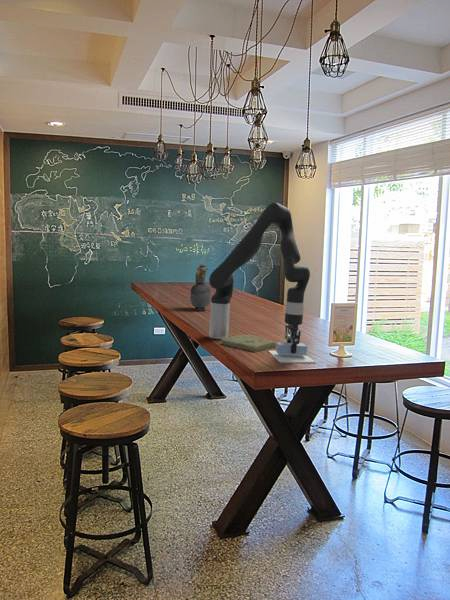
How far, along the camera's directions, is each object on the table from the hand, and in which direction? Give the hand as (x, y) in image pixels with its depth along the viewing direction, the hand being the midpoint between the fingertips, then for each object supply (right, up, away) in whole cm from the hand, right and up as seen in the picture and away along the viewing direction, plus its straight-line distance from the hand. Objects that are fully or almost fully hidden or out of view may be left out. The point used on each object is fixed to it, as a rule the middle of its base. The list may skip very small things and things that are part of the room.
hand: (291, 351), depth 226 cm
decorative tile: (-17, 0, +19) cm, 26 cm away
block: (0, -1, 0) cm, 1 cm away
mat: (0, -3, 0) cm, 3 cm away
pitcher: (-45, +16, +119) cm, 128 cm away
